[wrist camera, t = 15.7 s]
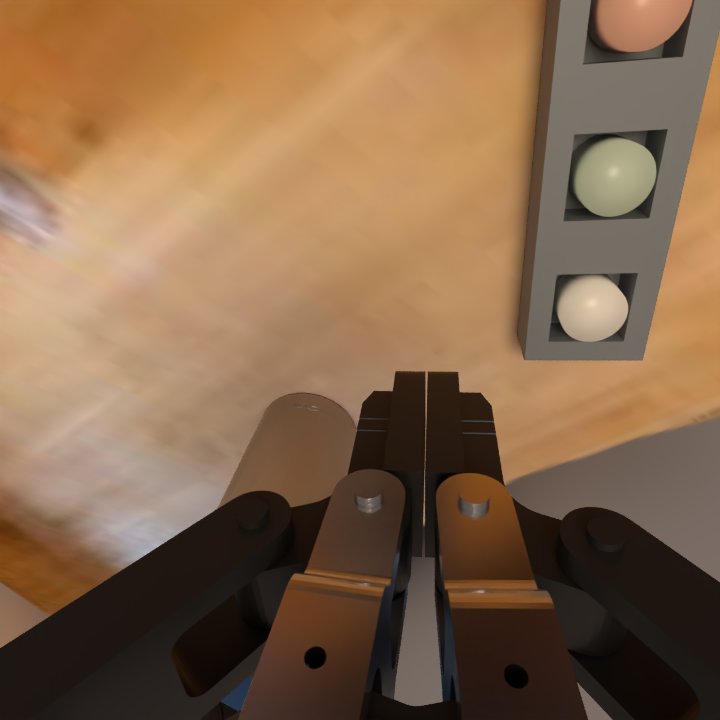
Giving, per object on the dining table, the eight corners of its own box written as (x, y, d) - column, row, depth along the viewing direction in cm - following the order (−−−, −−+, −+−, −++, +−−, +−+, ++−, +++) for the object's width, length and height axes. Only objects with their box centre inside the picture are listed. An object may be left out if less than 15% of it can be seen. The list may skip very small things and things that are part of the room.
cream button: (608, 321, 38) (621, 341, 35) (548, 321, 38) (556, 341, 35) (618, 266, 35) (633, 283, 33) (554, 267, 36) (564, 284, 33)
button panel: (624, 334, 39) (642, 360, 36) (517, 334, 41) (524, 360, 37) (712, -89, 27) (752, -110, 24) (553, -71, 28) (569, -88, 25)
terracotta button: (659, 49, 29) (682, 48, 26) (581, 55, 30) (596, 55, 27) (677, -45, 27) (704, -56, 24) (592, -36, 28) (609, -46, 25)
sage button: (630, 202, 33) (648, 215, 31) (562, 205, 34) (573, 218, 31) (643, 132, 31) (663, 139, 28) (571, 136, 32) (583, 143, 29)
